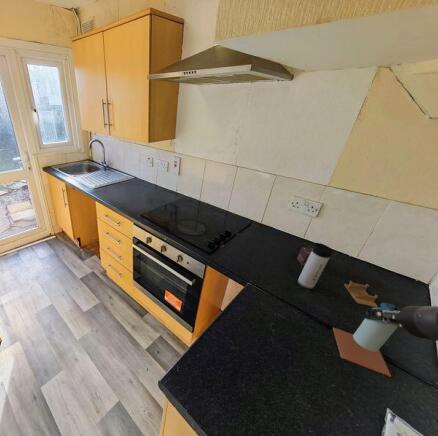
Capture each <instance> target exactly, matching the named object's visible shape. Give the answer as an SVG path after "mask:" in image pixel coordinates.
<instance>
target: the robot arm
mask: <svg viewBox="0 0 438 436" xmlns="http://www.w3.org/2000/svg"><path fill="white" fill-rule="evenodd" d="M387 313H388V314H387ZM362 317H363V318H364V319H365V318H366V319H373V320H379V321H381V322H382V323H386V324H391V325H395V326H398V327H397V328H403V329H404V330H405V331H406V332H407V333H409V334H410V335H411V336H414V337H416V338H419V339H425V340H431V341H437V342H438V305H437V306H436V305H435V306H434V305H433V306H432V305H407V306H403V308H401V310H399V311H387V310H380V309H372V308H365V310H363V311H362ZM387 318H388V320H389V321H390V322H388V321H387Z"/></svg>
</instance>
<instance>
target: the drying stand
mask: <svg viewBox="0 0 438 436" xmlns="http://www.w3.org/2000/svg"><path fill="white" fill-rule="evenodd" d="M343 285H344V287H345V288H346V290H347V291H348V292H349V294H350V295H351V297H352V298H353V300H354V301H355V302H356V303H357V304H360V305H364V306H368V307H372V308H375V307H377V308H379V306H378V305H377V303H376V302H375V301H377V299H378V298H379V295H377V294H374V295H371V294H369V293H368V292H367V289H368V288H369V287H370V284H368V283H366V284H360V283H356V282H353V281H352V280H349V284H348V283H344V284H343Z"/></svg>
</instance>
